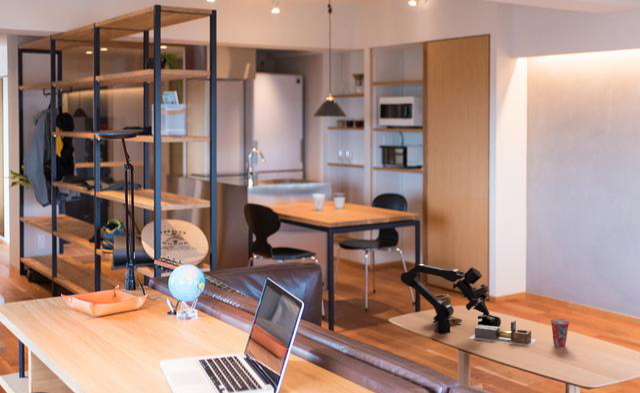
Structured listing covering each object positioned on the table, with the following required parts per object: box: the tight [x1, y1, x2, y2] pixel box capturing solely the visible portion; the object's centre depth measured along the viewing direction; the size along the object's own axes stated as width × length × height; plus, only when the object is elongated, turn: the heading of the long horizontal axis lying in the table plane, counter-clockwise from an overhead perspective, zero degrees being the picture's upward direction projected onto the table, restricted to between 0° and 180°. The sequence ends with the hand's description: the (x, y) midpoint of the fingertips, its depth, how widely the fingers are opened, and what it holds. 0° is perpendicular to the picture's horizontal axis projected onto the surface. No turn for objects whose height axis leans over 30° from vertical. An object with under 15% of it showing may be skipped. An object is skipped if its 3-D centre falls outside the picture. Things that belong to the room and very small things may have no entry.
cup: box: [550, 318, 570, 348], centre depth 379 cm, size 9×8×12 cm
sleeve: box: [474, 324, 500, 340], centre depth 395 cm, size 10×6×5 cm, turn 60°
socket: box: [514, 329, 532, 344], centre depth 386 cm, size 6×7×5 cm
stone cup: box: [432, 293, 463, 326], centre depth 425 cm, size 15×12×15 cm
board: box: [468, 333, 538, 347], centre depth 391 cm, size 30×13×1 cm, turn 60°
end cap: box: [477, 313, 502, 328], centre depth 413 cm, size 10×7×7 cm
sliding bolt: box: [496, 319, 517, 341], centre depth 390 cm, size 17×4×9 cm, turn 60°
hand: (488, 314), depth 394 cm, fingers closed
